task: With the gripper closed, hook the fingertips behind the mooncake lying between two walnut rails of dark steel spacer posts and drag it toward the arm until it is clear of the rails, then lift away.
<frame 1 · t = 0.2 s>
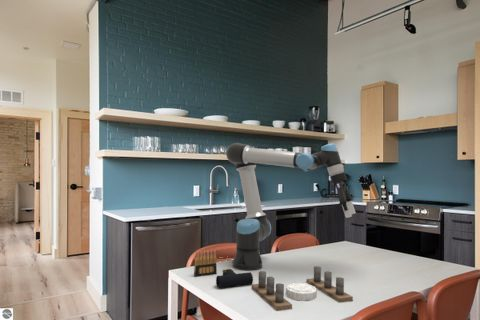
hand: (351, 215, 168), 28 cm above the table, tool tilted 20°, fingers open, 13 cm apart
mooncake: (301, 296, 137), on the table
ammunition clip: (205, 275, 160), on the table
pipe connector: (231, 284, 150), on the table
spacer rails: (299, 294, 138), on the table
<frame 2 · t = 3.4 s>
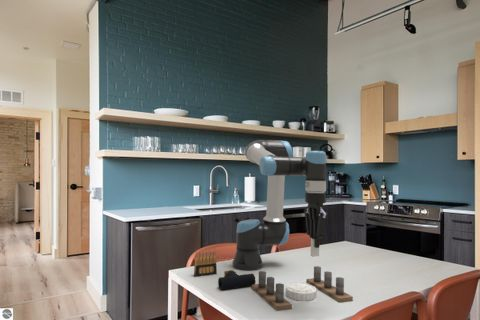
hand: (314, 255, 128), 18 cm above the table, tool pointing down, fingers closed
pipe connector: (233, 285, 148), on the table
everything else where it was.
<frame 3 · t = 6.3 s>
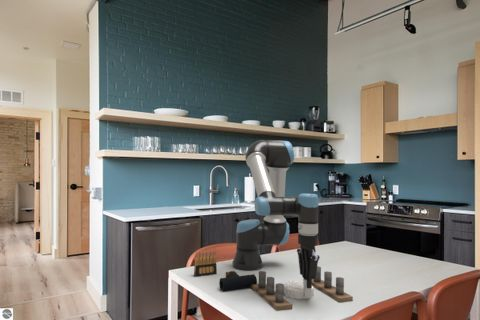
hand: (307, 295, 132), 1 cm above the table, tool pointing down, fingers closed
mooncake: (298, 294, 139), on the table, touching gripper
pipe connector: (234, 286, 147), on the table
everything else where it was.
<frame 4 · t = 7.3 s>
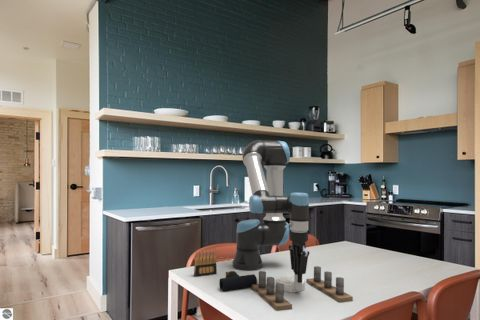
hand: (298, 289, 139), 1 cm above the table, tool pointing down, fingers closed
mooncake: (290, 288, 145), on the table, touching gripper
everything else where it was.
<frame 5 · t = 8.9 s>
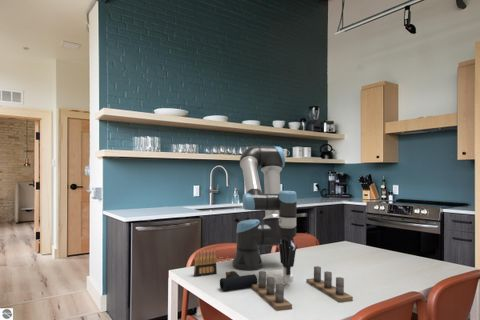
hand: (286, 281, 148), 1 cm above the table, tool pointing down, fingers closed
mooncake: (279, 281, 155), on the table
everything else where it was.
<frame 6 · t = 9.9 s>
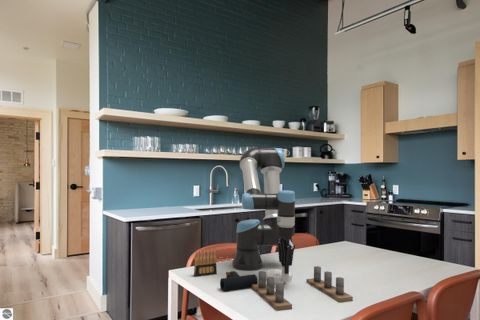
hand: (285, 280, 150), 1 cm above the table, tool pointing down, fingers closed
mooncake: (278, 280, 156), on the table
everything else where it was.
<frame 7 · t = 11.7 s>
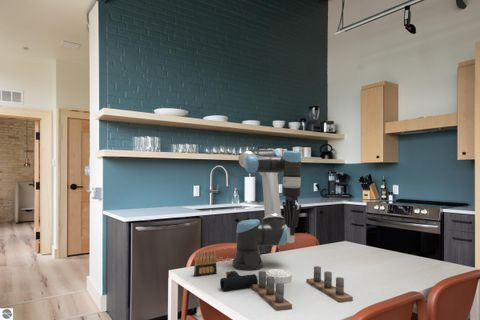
hand: (290, 242, 147), 19 cm above the table, tool pointing down, fingers closed
nothing on the table moved.
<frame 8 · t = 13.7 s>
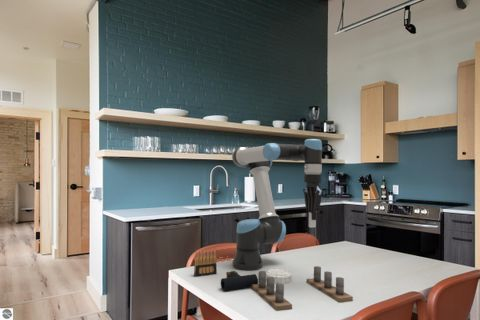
hand: (312, 227, 153), 24 cm above the table, tool pointing down, fingers closed
nothing on the table moved.
at the end: mooncake inside the target area (3.4 cm from its centre), on the table; mooncake moved 20.7 cm from its start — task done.
